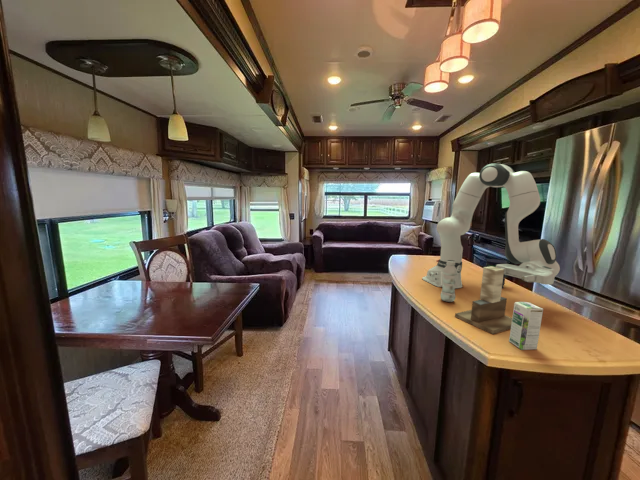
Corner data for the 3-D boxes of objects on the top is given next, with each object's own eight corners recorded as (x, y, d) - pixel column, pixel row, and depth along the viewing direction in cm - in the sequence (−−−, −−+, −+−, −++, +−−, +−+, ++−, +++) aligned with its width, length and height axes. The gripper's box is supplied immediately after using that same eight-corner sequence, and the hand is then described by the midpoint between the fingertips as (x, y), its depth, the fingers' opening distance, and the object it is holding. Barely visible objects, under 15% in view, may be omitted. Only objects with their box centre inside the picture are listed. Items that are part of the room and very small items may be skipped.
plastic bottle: (456, 301, 132) (460, 260, 129) (452, 304, 127) (456, 263, 124) (442, 297, 136) (446, 258, 133) (438, 301, 131) (441, 260, 128)
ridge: (454, 316, 114) (456, 296, 112) (483, 310, 121) (485, 290, 120) (492, 334, 100) (495, 311, 98) (522, 325, 107) (525, 303, 106)
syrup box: (508, 341, 95) (513, 301, 93) (523, 340, 95) (529, 301, 93) (521, 350, 89) (527, 308, 87) (538, 349, 90) (544, 308, 88)
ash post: (479, 298, 110) (483, 267, 108) (487, 296, 112) (491, 266, 110) (492, 303, 106) (495, 270, 104) (500, 301, 108) (504, 269, 106)
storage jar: (479, 284, 158) (482, 259, 156) (491, 282, 161) (494, 258, 159) (495, 290, 149) (499, 263, 146) (508, 288, 152) (511, 262, 150)
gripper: (507, 259, 127) (487, 262, 121) (559, 270, 109) (540, 274, 103) (505, 272, 128) (486, 275, 122) (557, 285, 110) (537, 289, 104)
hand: (511, 275), depth 113 cm, fingers open, 8 cm apart
